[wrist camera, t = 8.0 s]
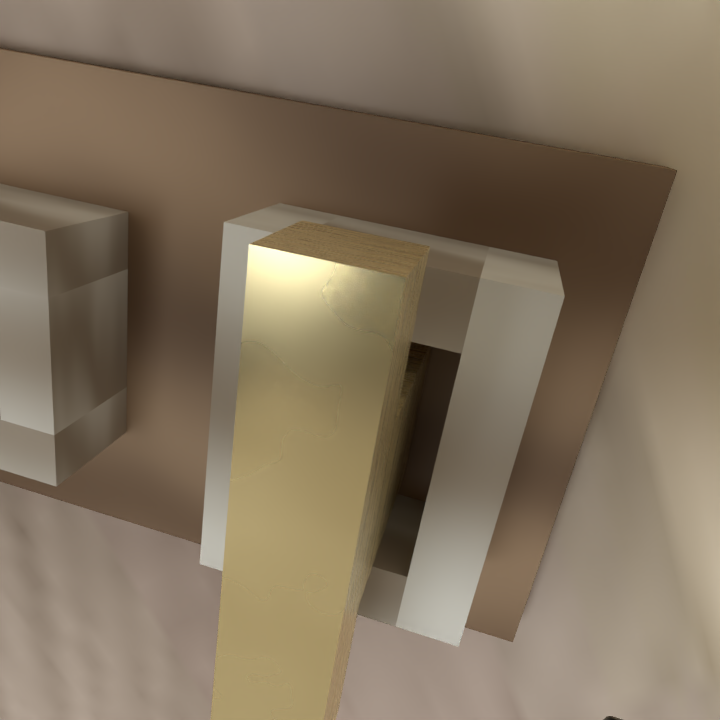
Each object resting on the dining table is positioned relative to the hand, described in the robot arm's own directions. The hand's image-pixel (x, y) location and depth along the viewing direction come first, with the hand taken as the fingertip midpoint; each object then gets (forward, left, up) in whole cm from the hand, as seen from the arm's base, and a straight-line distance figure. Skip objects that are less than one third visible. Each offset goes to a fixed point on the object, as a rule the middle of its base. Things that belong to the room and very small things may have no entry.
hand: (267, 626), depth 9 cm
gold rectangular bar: (0, 0, -8) cm, 8 cm away
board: (0, +6, -9) cm, 11 cm away
